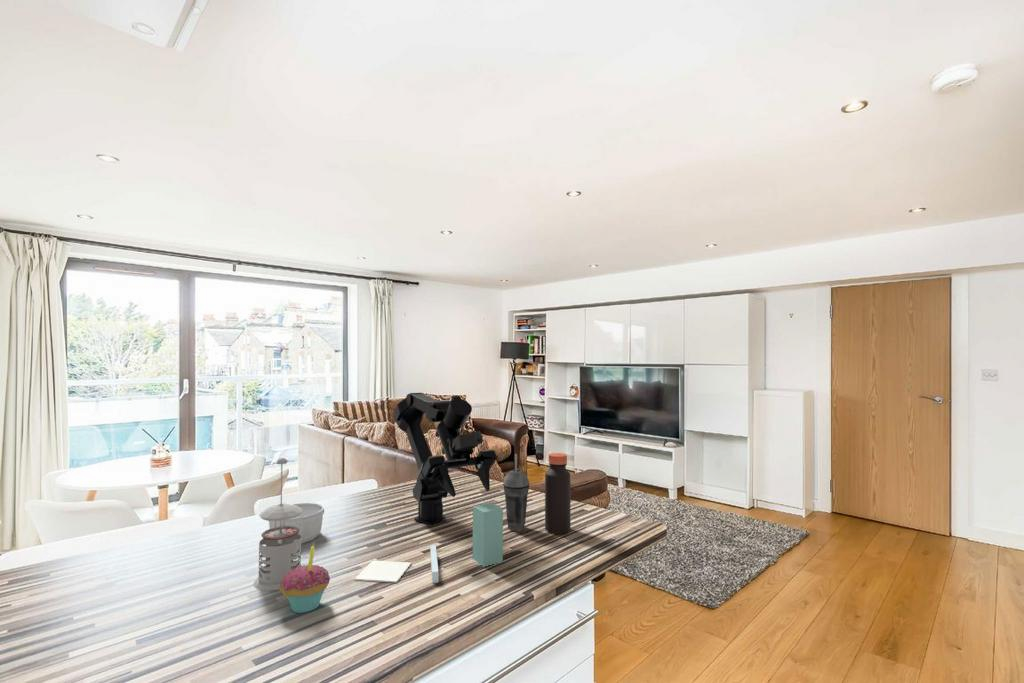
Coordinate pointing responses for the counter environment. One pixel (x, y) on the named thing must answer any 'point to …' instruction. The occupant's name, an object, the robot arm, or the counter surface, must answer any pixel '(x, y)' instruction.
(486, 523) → the sage block
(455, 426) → the robot arm
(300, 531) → the ramekin
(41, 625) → the counter surface
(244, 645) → the counter surface
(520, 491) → the beverage cup
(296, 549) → the french press
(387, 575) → the resting pad
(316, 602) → the cupcake
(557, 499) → the bottle
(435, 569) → the acrylic strip
